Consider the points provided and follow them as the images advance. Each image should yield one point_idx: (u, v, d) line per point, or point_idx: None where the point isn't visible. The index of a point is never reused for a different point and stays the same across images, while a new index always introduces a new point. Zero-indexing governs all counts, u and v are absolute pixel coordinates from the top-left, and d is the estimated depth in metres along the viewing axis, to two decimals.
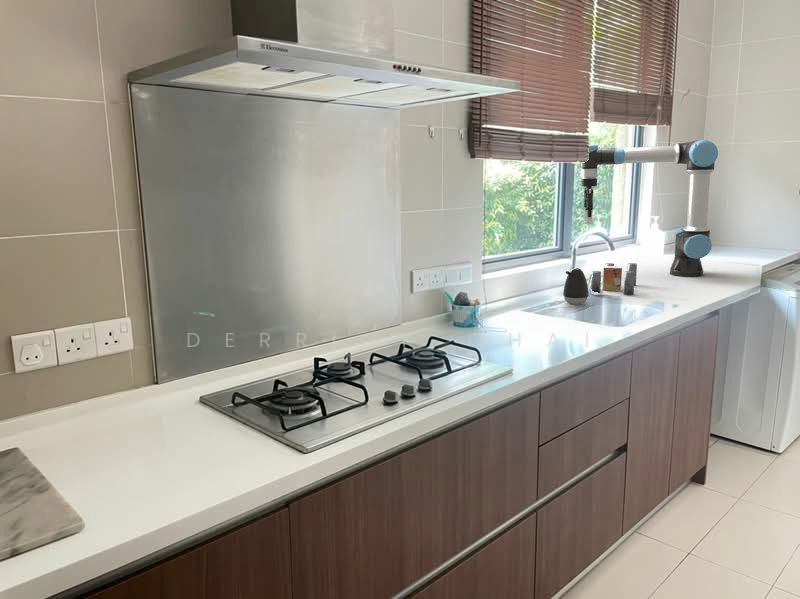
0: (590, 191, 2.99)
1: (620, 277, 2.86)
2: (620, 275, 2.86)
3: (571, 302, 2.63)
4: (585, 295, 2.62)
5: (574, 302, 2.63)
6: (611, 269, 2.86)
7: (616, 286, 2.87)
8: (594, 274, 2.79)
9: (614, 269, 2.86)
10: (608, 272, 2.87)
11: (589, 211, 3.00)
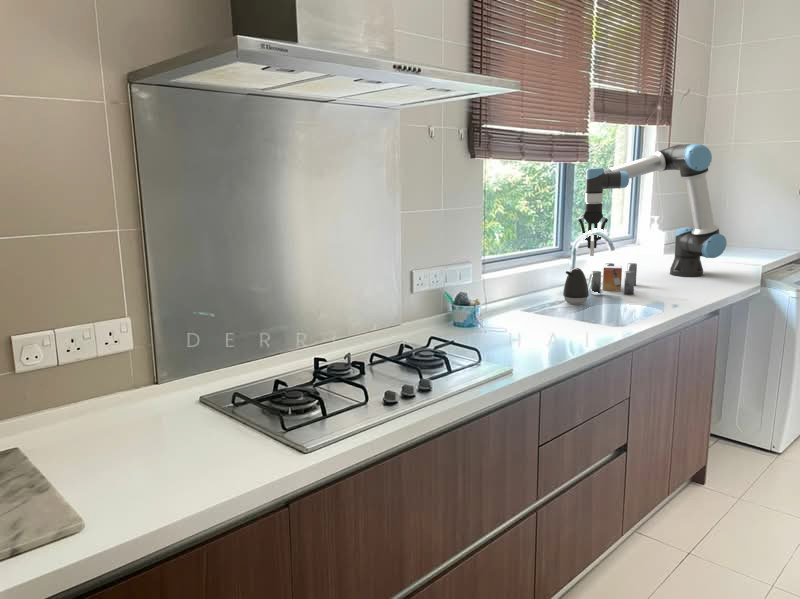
0: (579, 221, 2.87)
1: (620, 277, 2.86)
2: (620, 275, 2.86)
3: (571, 302, 2.63)
4: (585, 295, 2.62)
5: (574, 302, 2.63)
6: (611, 269, 2.86)
7: (616, 286, 2.87)
8: (594, 274, 2.79)
9: (614, 269, 2.86)
10: (608, 272, 2.87)
11: None
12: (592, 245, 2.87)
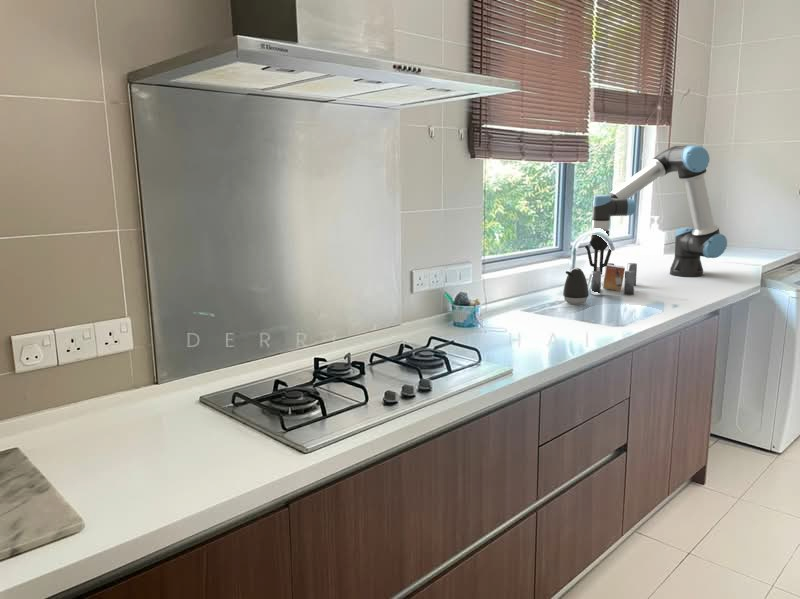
0: None
1: (622, 277, 2.86)
2: (622, 275, 2.85)
3: (571, 302, 2.63)
4: (585, 295, 2.62)
5: (574, 302, 2.63)
6: (614, 268, 2.86)
7: (617, 285, 2.87)
8: (594, 274, 2.79)
9: (617, 268, 2.85)
10: (611, 271, 2.86)
11: None
12: None
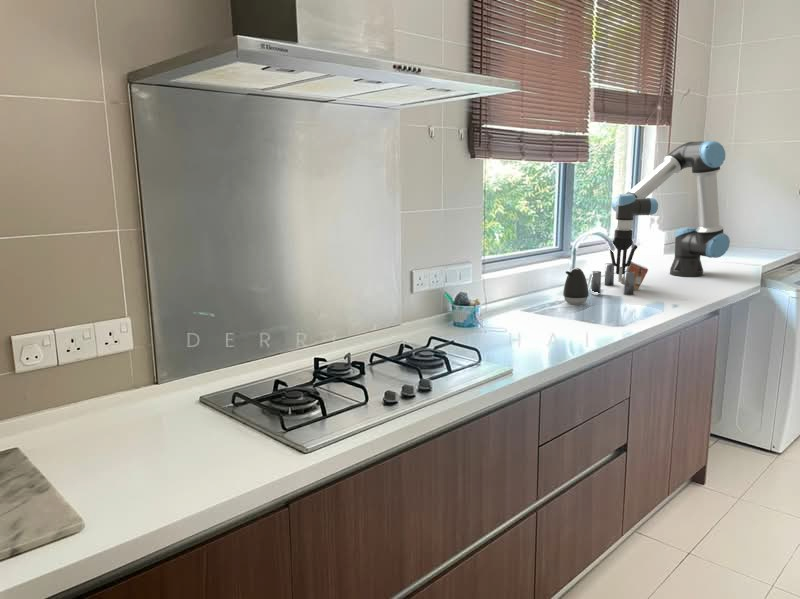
0: (608, 247, 2.87)
1: (643, 278, 2.84)
2: (643, 276, 2.84)
3: (571, 302, 2.63)
4: (585, 295, 2.62)
5: (574, 302, 2.63)
6: (638, 267, 2.83)
7: (636, 285, 2.85)
8: (594, 274, 2.79)
9: (640, 268, 2.83)
10: (634, 268, 2.84)
11: (616, 267, 2.88)
12: (620, 271, 2.87)
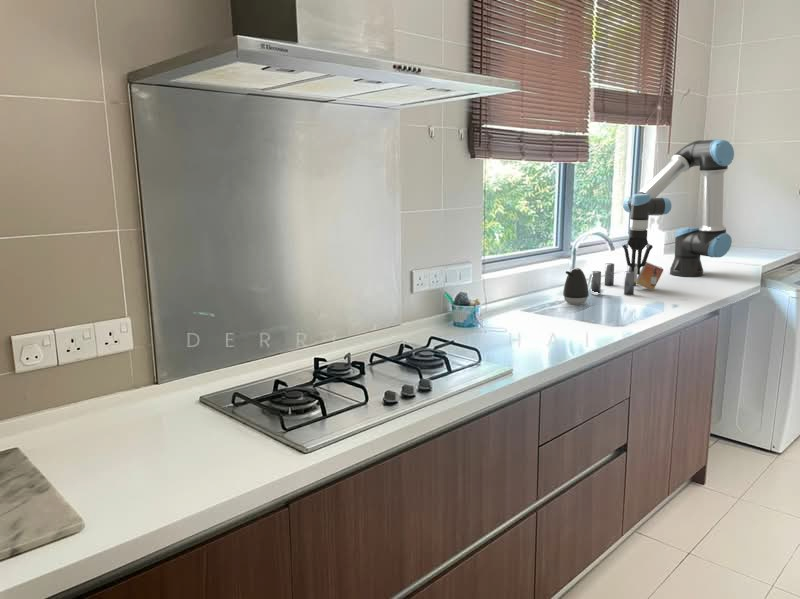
0: (623, 247, 2.85)
1: (658, 278, 2.83)
2: (659, 276, 2.82)
3: (571, 302, 2.63)
4: (585, 295, 2.62)
5: (574, 302, 2.63)
6: (653, 267, 2.82)
7: (651, 285, 2.84)
8: (594, 274, 2.79)
9: (656, 268, 2.82)
10: (649, 269, 2.83)
11: (631, 268, 2.87)
12: (635, 271, 2.85)
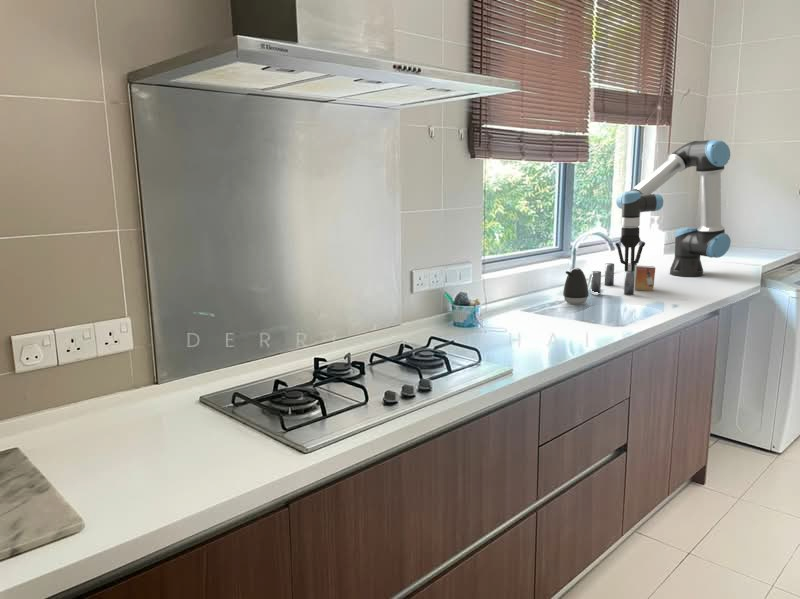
0: (616, 245, 2.86)
1: (653, 277, 2.83)
2: (653, 275, 2.83)
3: (571, 302, 2.63)
4: (585, 295, 2.62)
5: (574, 302, 2.63)
6: (644, 268, 2.83)
7: (649, 286, 2.84)
8: (594, 274, 2.79)
9: (647, 269, 2.83)
10: (641, 271, 2.84)
11: None
12: (629, 269, 2.86)
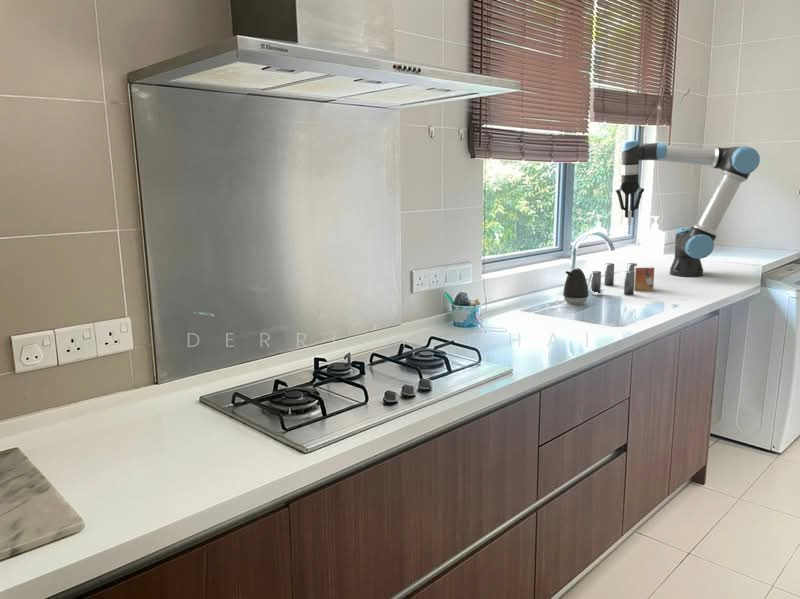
0: (616, 192, 3.01)
1: (652, 277, 2.83)
2: (652, 275, 2.83)
3: (571, 302, 2.63)
4: (585, 295, 2.62)
5: (574, 302, 2.63)
6: (643, 269, 2.83)
7: (649, 286, 2.84)
8: (594, 274, 2.79)
9: (646, 269, 2.83)
10: (640, 272, 2.84)
11: (625, 211, 3.03)
12: (630, 214, 3.02)
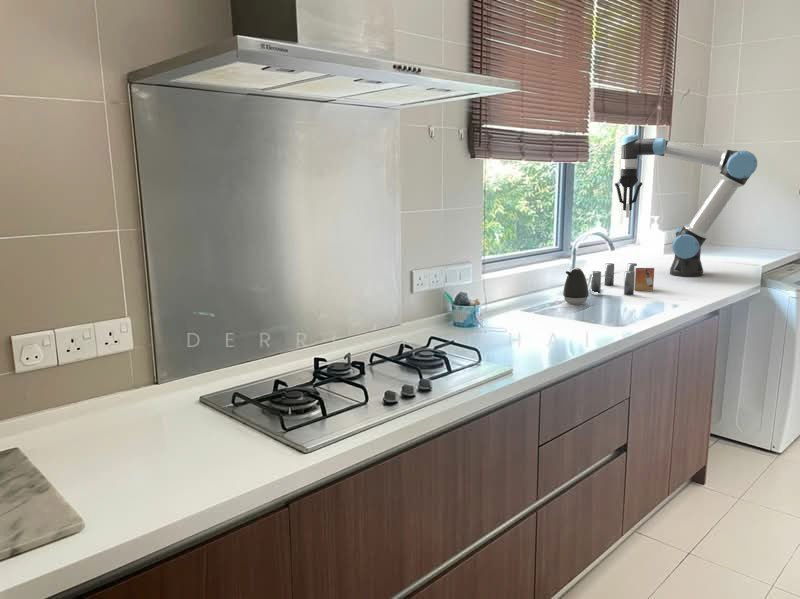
0: None
1: (652, 277, 2.83)
2: (652, 275, 2.83)
3: (571, 302, 2.63)
4: (585, 295, 2.62)
5: (574, 302, 2.63)
6: (643, 269, 2.83)
7: (649, 286, 2.84)
8: (594, 274, 2.79)
9: (646, 269, 2.83)
10: (640, 272, 2.84)
11: (623, 204, 3.12)
12: (627, 207, 3.11)
